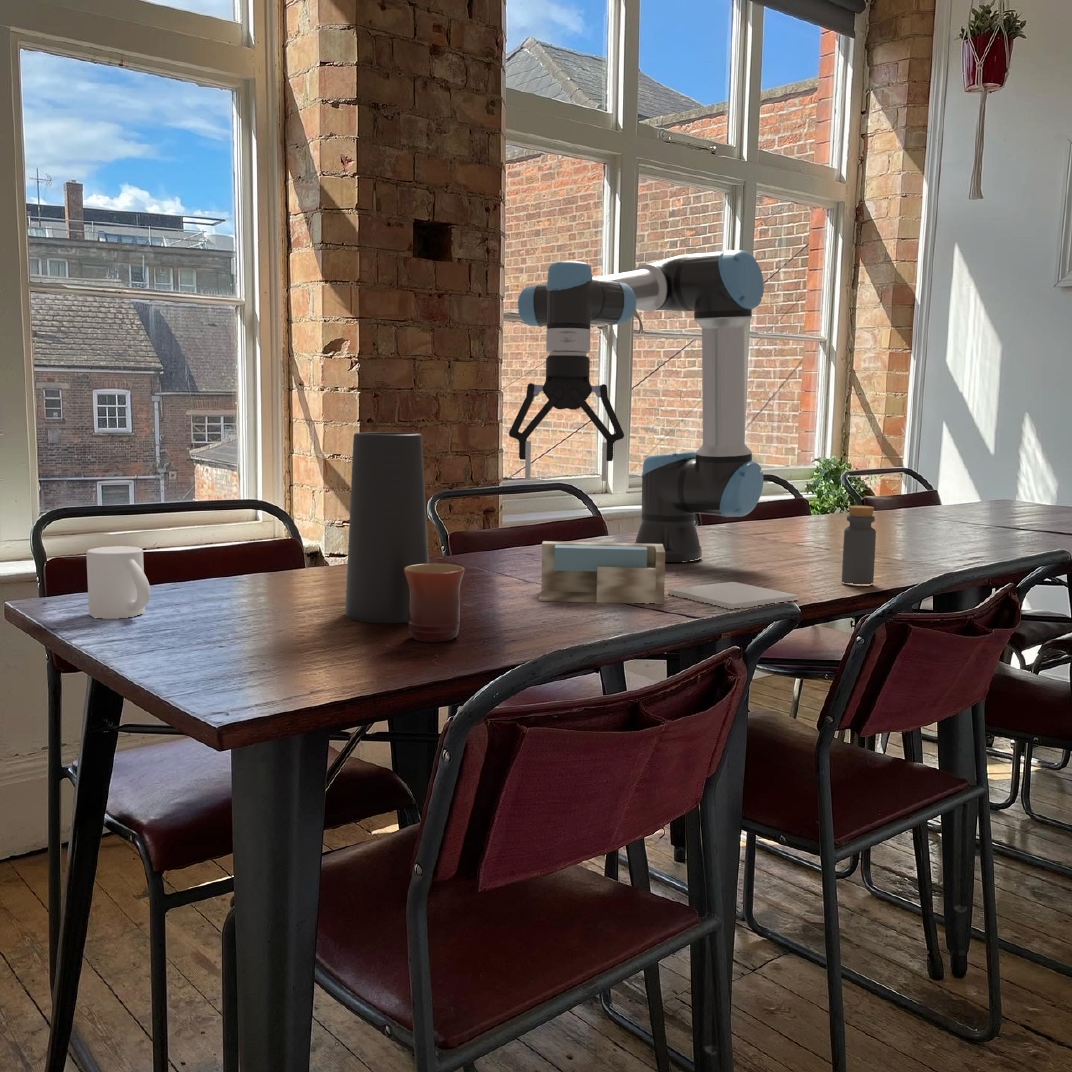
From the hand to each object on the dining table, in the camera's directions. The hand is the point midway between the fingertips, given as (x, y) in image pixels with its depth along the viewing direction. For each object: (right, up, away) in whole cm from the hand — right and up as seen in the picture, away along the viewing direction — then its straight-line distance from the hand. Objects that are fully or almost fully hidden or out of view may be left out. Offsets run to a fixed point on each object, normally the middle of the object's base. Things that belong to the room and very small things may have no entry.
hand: (565, 479), depth 188 cm
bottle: (+57, -19, +20) cm, 63 cm away
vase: (-29, -23, -15) cm, 39 cm away
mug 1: (-70, -22, -18) cm, 76 cm away
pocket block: (+6, -20, +3) cm, 22 cm away
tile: (+30, -21, +4) cm, 36 cm away
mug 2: (-20, -25, -29) cm, 43 cm away
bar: (+6, -16, +2) cm, 17 cm away
